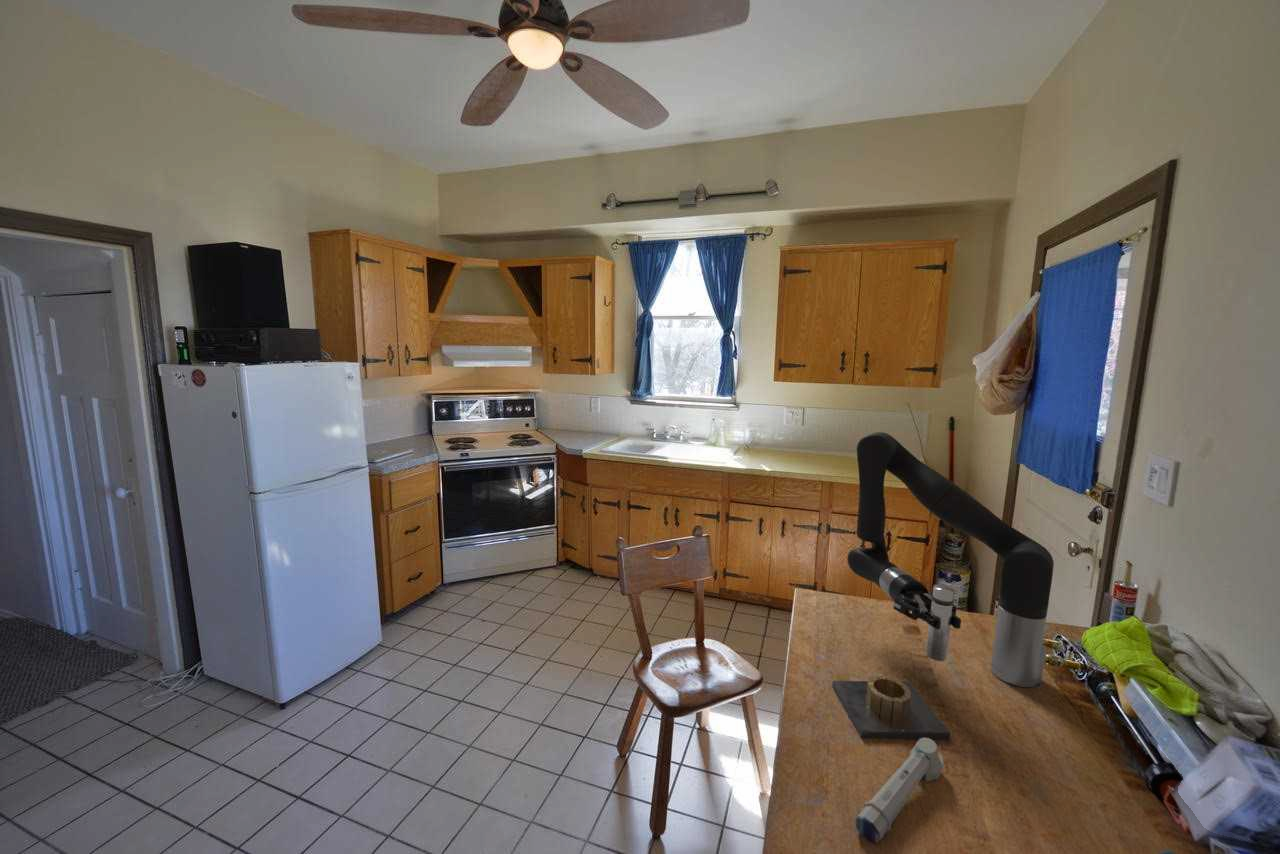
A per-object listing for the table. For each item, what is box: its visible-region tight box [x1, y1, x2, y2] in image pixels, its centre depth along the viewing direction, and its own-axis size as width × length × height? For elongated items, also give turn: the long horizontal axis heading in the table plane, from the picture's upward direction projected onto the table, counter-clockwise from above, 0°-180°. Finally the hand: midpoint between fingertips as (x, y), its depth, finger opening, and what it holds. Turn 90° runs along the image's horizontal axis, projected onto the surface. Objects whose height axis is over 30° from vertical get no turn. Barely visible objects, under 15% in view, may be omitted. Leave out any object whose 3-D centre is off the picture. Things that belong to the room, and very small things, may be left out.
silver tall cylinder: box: [925, 583, 955, 662], centre depth 113 cm, size 4×4×16 cm
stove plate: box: [831, 675, 951, 740], centre depth 111 cm, size 18×16×6 cm
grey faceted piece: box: [855, 738, 944, 844], centre depth 90 cm, size 5×7×25 cm
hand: (948, 624), depth 110 cm, fingers closed on silver tall cylinder, 4 cm apart
